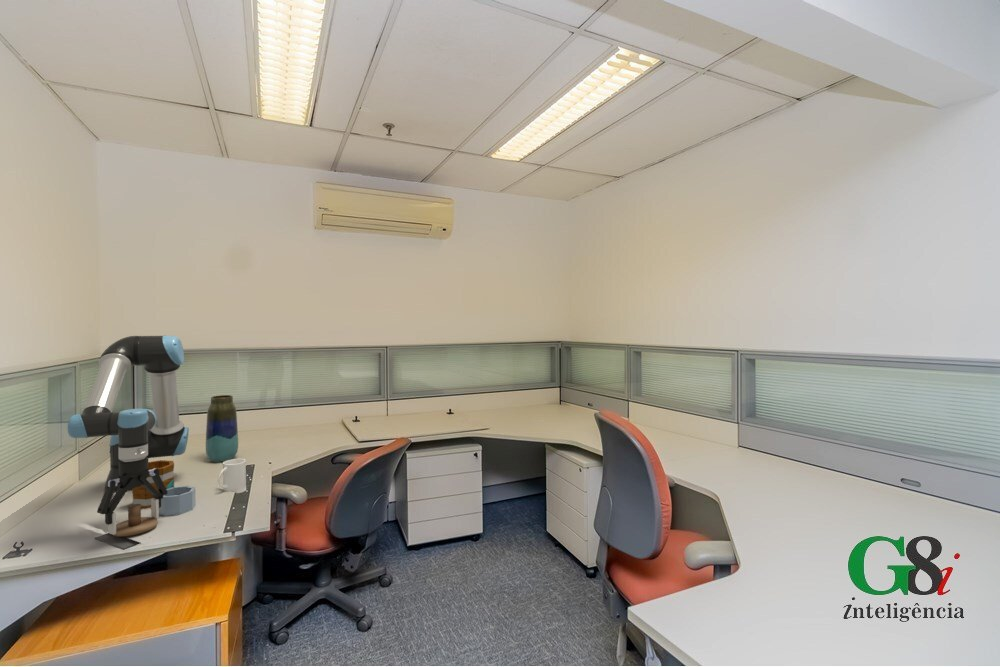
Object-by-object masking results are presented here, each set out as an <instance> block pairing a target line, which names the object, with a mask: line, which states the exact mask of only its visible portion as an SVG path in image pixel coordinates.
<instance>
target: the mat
mask: <svg viewBox="0 0 1000 667" xmlns="http://www.w3.org/2000/svg"><path fill="white" fill-rule="evenodd" d="M94 540H97V541H99V542H102V543H104V544H107V545H110V546H113V547H116V548H118V549H121V550H124V551H125V550H126V549H129V548H132V547H135V546H137V545H140V544H141V542H140V541H137V540H134V539H131V538H129V537H127V536H113V535H112V534H110V533H108V532H107V533H104V534H101V535H99V536H95V537H94Z"/></svg>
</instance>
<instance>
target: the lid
mask: <svg viewBox="0 0 1000 667" xmlns="http://www.w3.org/2000/svg"><path fill="white" fill-rule="evenodd" d="M141 510H142V508H141V504H134V505H133V504H130V505H129V506H127V516H128V517H127V519H126V520H123V521H121V522H118V523H116V534H114V535H113V534H112V535H113V536H123V537H130V536H135V535H139V534H142V533H146V532H148V531H150V530H152V529H154V528H155V527H157V525H158V519H156V518H154V517H151V516H142V511H141Z"/></svg>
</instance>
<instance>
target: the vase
mask: <svg viewBox="0 0 1000 667" xmlns="http://www.w3.org/2000/svg"><path fill="white" fill-rule="evenodd" d="M238 451H239V431H238V414H237V407H236V405H235V403H234V396H233V395H231V394H230V395H228V394H223V395H222V394H220V395H213V396H211V397H210V404H209V406H208V409H207V411H206V429H205V454H206V456H207V458H208V459H209V460H210V461H211V462H213V463H214V462H215V463H223V462H225V461H227V460H232V459H235V456H236V455H237V453H238Z"/></svg>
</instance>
